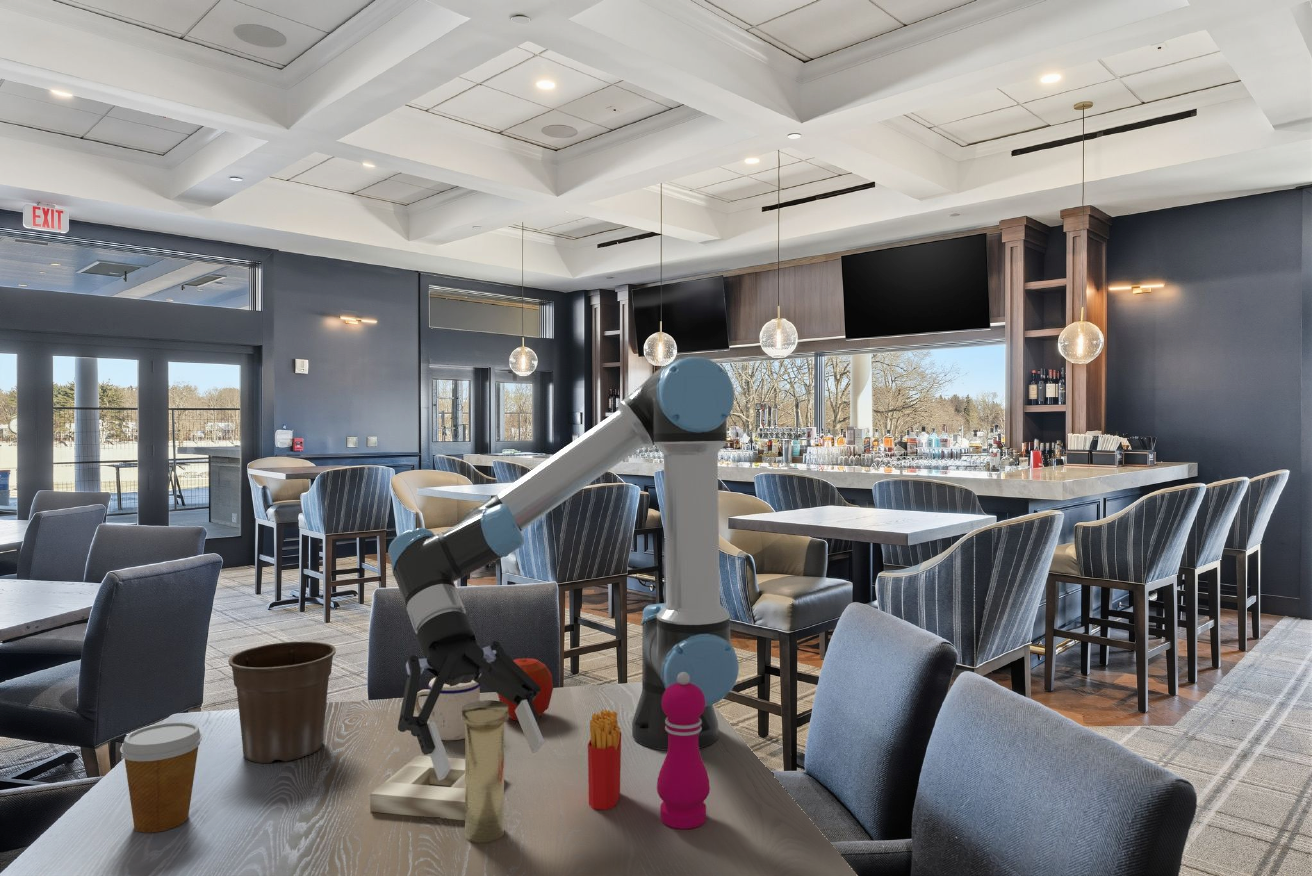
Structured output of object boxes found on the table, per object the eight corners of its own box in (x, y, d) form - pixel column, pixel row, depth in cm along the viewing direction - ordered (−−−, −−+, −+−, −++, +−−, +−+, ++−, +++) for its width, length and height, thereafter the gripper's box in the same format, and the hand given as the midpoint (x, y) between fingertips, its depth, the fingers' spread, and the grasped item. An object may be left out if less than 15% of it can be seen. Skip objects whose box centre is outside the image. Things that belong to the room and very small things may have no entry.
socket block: (502, 778, 124) (502, 762, 124) (465, 820, 110) (465, 801, 110) (417, 771, 127) (417, 755, 127) (370, 811, 113) (370, 793, 113)
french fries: (611, 813, 113) (612, 726, 113) (584, 811, 113) (584, 724, 113) (624, 787, 121) (624, 706, 121) (598, 785, 122) (598, 705, 122)
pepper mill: (693, 836, 106) (693, 682, 106) (646, 822, 110) (646, 674, 110) (719, 815, 112) (719, 669, 112) (674, 802, 116) (674, 662, 116)
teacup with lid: (487, 724, 148) (487, 660, 148) (471, 742, 139) (471, 674, 139) (423, 722, 149) (423, 658, 149) (403, 740, 140) (403, 672, 140)
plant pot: (283, 776, 125) (283, 671, 125) (204, 761, 130) (205, 660, 130) (356, 739, 140) (356, 646, 140) (283, 728, 146) (283, 638, 146)
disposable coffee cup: (150, 805, 115) (150, 720, 115) (216, 806, 114) (217, 721, 114) (101, 838, 105) (102, 745, 105) (174, 840, 105) (174, 746, 105)
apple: (561, 711, 155) (561, 651, 155) (537, 729, 145) (537, 664, 145) (513, 706, 158) (513, 646, 158) (487, 723, 149) (487, 659, 149)
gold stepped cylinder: (514, 824, 109) (514, 701, 109) (497, 846, 103) (498, 716, 103) (472, 821, 110) (472, 699, 110) (453, 842, 104) (453, 713, 104)
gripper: (508, 626, 127) (562, 751, 115) (347, 653, 110) (391, 802, 99) (526, 597, 123) (584, 723, 111) (362, 621, 106) (410, 771, 95)
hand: (493, 761), depth 105 cm, fingers open, 13 cm apart
